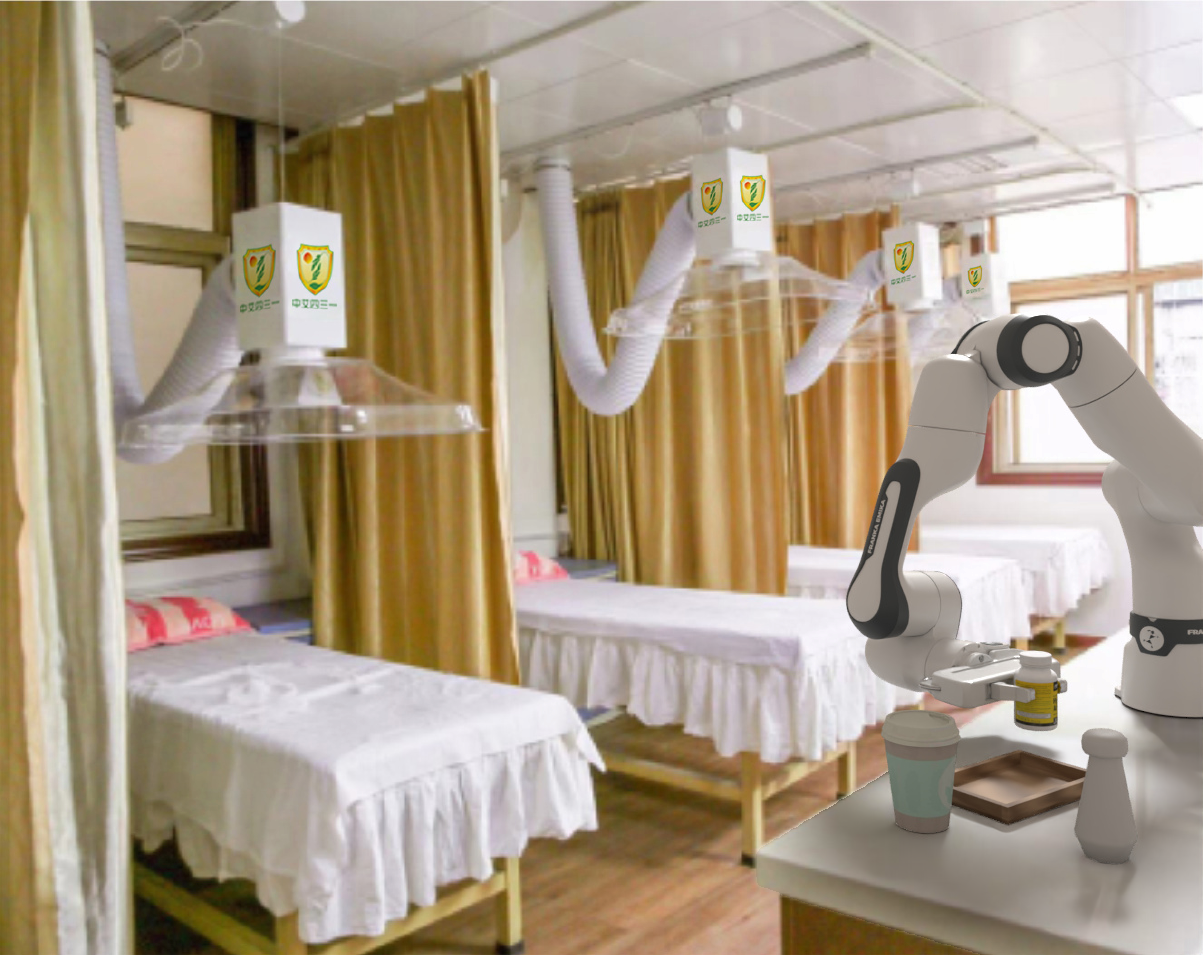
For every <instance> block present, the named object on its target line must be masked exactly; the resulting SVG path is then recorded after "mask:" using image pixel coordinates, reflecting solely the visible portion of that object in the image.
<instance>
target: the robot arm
mask: <svg viewBox="0 0 1203 955" xmlns="http://www.w3.org/2000/svg"><path fill="white" fill-rule="evenodd" d="M1046 385H1052V387H1053V388H1054V389H1056V391H1057V392H1058V394H1059V396H1060V398H1062V400H1063V402H1064V403H1065V405H1066V406H1067V407H1068V409H1069V411H1070V412H1071V413H1072V415H1073V417H1074V418H1075V419H1076V420H1077V422H1078V424H1079V425H1080V426H1081V428H1082V429H1083V430H1084V432H1085V433H1086V435H1087V437H1089V439H1090V440H1091V441H1092V443H1093V444H1094V446H1096V448H1097V449H1099V450H1101V452H1103V453H1105V454H1107V455H1108V456H1110V457H1111V458H1112V459H1113V460H1111V462H1109V464H1107V465H1106V467H1105V469H1104V472H1103V474H1102V477H1101V491H1102V494H1103V497H1104V499H1105V501H1106V502H1107V503H1108V505H1109V506H1110V507H1111V508H1112V509H1113V511H1114V512H1115V514H1116V517H1117V518H1118V521H1119V523H1120V526H1121V529H1122V533H1123V535H1124V538H1125V542H1126V546H1127V550H1128V553H1129V559H1130V566H1131V584H1132V585H1131V587H1132V588H1131V591H1132V610H1131V611H1130V612H1129V619H1128V625H1129V634H1130V636H1131V638H1130V639H1129V641H1127V642H1126V643H1125V644H1124V646H1123V653H1122V666H1121V677H1120V678H1121V680H1120V685H1117V686H1115V687H1114V692H1113V693H1114V695H1116V696H1117V697H1119V698H1121V702H1122V703H1123V704H1124V705H1125V706H1128V707H1130V708H1133V709H1135V710H1138V711H1141V712H1142V711H1144V712H1147V713H1152V714H1156V715H1163V716H1171V717H1172V716H1173V717H1180V718H1181V717H1182V718H1186V717H1187V718H1203V547H1202V546H1201V543H1200V542H1199V538H1197V534H1196V532H1195V528H1194V527H1199V528H1200V527H1201V528H1202V527H1203V438H1202V436H1199V434H1197V433H1196V432H1195V431H1194V430H1193V429H1192V428H1191V427H1189V426H1188V425H1187V424H1186V423H1185V422H1184V421H1182V419H1181V418H1179V417H1178V416H1177V415H1176V414H1175V413H1174V412H1173V411H1172V410H1171V409H1170V408H1169V406H1167V404H1166V403H1165V402H1164V401H1163V399H1162V398H1161V396H1160V395H1159V394H1158V393H1157V390H1156V389H1155V388H1154V387H1153V386H1152V384H1151V383H1150V381H1149V380H1148V378H1147V377H1146V376H1145V374H1144V373H1143V372H1142V370H1141V369H1140V367H1139V366H1138V365H1137V362H1136V361H1135V360H1134V359H1133V357H1132V356H1131V354H1130V353H1128V351H1127V349H1125V347H1124V345H1122V344H1121V342H1120V341H1119V340H1118V339H1117V338H1116V337H1115V336H1114V335H1113V334H1112V333H1111V332H1110V331H1109V330H1108V329H1107V328H1106V326H1104V325H1103V324H1101V322H1100V321H1099V320H1097V319H1095V318H1093V317H1091V316H1090V317H1089V316H1075V317H1071V318H1068V319H1066V320H1062V319H1060V318H1058V317H1056V316H1053V315H1051V314H1048V313H1044V312H1038V311H1029V312H1028V311H1027V312H1024V313H1011V314H1004V315H1000V316H998V317H995V318H993V319H988V320H984V321H981V322H978V323H975V325H973V326H971V327H970V328H969V329H967V330H966V331H965V332H964V334H963V335H962V336H961V337H960V338H959V341H958V342H957V343H956V346H955V347H954V348H953V350H952V351H951V352H950V354H943V355H939V356H936V357H934V358H932V359H930V360H929V361H928V362H926V364H924V366H923V368H922V369H921V372H920V375H919V378H918V382H917V384H916V387H915V391H914V395H913V399H912V402H911V406H910V412H909V417H908V423H907V425H908V426H907V429H906V434H905V438H904V442H903V445H902V448H901V450H900V452H899V454H898V456H897V458H896V461H895V462H893V464H891V466H890V467H889V468H888V470H887V472H886V473H885V476H884V478H883V480H882V482H881V485H880V489H879V492H878V494H877V498H876V501H875V506H874V510H873V513H872V515H871V516H872V517H871V521H870V524H869V527H868V531H867V535H866V538H865V541H864V542H865V543H864V547H863V551H862V554H861V557H860V560H859V562H858V565H857V567H856V570H855V573H854V575H853V577H852V578H851V580H850V582H849V585H848V589H847V592H846V595H845V596H846V597H845V605H846V606H845V607H846V610H847V611H846V612H847V614H848V617H849V619H850V620H851V622H852V624H853V626H854V627H855V628H856V629H857V630H858V632H859V633H860V634H861V635H863V636H865V637H866V638H867V639H866V643H865V646H864V655H865V656H864V657H865V660H866V664H867V666H868V667H869V669H870V671H871V672H872V673H873V674H874V675H875V676H876V677H877V678H879V679H880V680H881V681H884V682H886V683H888V684H890V685H892V686H895V687H898V688H900V689H905V690H908V691H910V692H915V693H928V694H930V695H931V696H932V698H934V699H935V700H937V701H940V702H942V703H946V704H948V705H951V706H953V707H957V708H962V709H975V708H978V707H982V706H986V705H990V704H993V703H997V702H1001V701H1005V702H1006V701H1007V702H1010V701H1011V702H1014V701H1020V702H1024V703H1027V702H1031V701H1034V700H1035V690H1034V689H1033V688H1032V687H1027V686H1014V672H1015V670H1016V669H1018V668H1020V667H1021V664H1020V663H1019V662H1020V661H1019V654H1020V652H1023V651H1026V650H1024V649H1020V648H1010V645H1009V643H1007V642H1001V641H986V642H976V641H973V640H963V639H958V638H957V637H958V634H959V629H960V623H961V618H962V612H963V611H962V610H963V598H962V593H961V591H960V589H959V587H958V585H957V584H956V582H955V581H954V580H953V578H952V577H951V576H949V575H948V574H946V573H944V572H941V571H935V570H934V571H933V570H916V569H915V570H904V564H905V560H906V557H907V553H908V548H909V545H910V541H911V538H912V533H913V530H914V527H915V523H916V519H917V518H918V516H919V514H920V513H921V511H922V510H923V508H924V507H926V506H927V505H928V504H929V503H930V502H932V501H933V500H935V499H937V498H938V497H940V496H942V495H944V494H945V495H946V494H948V493H949V492H953V491H954V490H957V489H959V488H961V487H963V486H964V485H965V484H967V483H968V482H969V481H970V480H971V479H972V478H973V477H974V476H975V475H976V474H977V472H978V469H979V467H980V464H981V461H982V459H983V455H984V449H985V442H986V433H987V426H988V415H989V414H988V413H989V411H990V408H991V405H992V403H993V401H994V399H995V398H996V396H997V395H998V393H999V392H1001V391H1016V390H1021V389H1025V388H1039V387H1042V386H1046ZM1050 669H1051V670H1053V671H1054V672H1055V673H1056V674H1057V679H1058V688H1057V689H1058V695H1060V694H1064V693H1067V692H1068V680H1067V679H1065V678H1061V676H1062V674H1061V663H1060V661H1058V660H1057V658H1055V657H1052V665H1051V666H1050Z"/></svg>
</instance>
